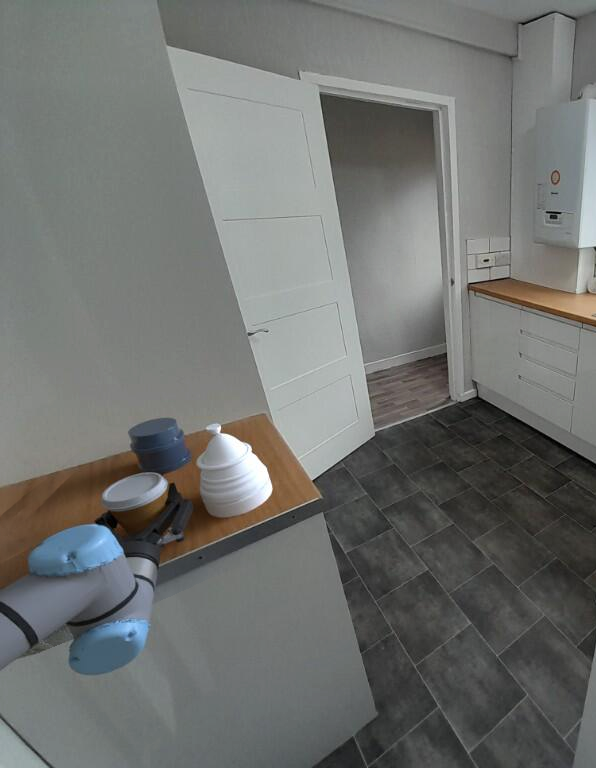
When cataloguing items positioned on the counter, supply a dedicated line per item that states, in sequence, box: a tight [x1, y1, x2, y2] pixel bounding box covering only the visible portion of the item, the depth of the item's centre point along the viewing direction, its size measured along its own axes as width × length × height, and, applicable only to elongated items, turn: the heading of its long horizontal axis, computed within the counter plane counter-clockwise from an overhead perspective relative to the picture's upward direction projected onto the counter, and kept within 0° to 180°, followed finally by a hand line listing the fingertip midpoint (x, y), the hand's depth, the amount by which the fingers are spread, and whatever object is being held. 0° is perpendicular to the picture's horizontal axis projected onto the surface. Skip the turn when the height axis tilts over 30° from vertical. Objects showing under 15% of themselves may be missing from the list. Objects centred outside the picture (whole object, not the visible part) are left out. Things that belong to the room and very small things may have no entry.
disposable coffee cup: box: [100, 472, 172, 537], centre depth 79 cm, size 10×10×12 cm
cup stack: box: [127, 417, 193, 476], centre depth 102 cm, size 10×10×11 cm
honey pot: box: [196, 423, 273, 518], centre depth 89 cm, size 13×13×18 cm
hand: (146, 495), depth 82 cm, fingers closed on disposable coffee cup, 8 cm apart
